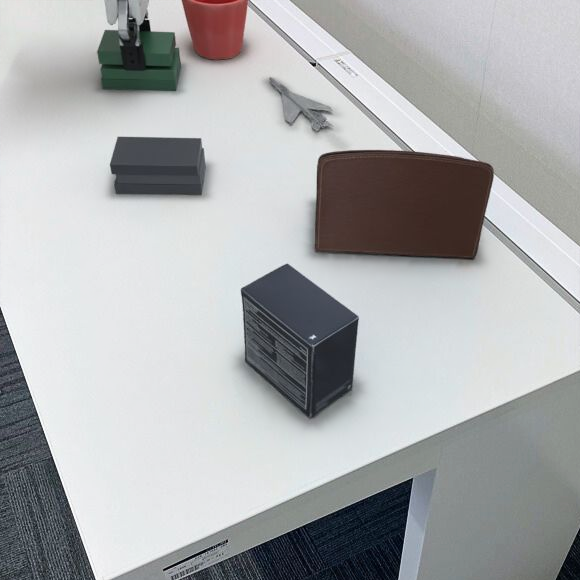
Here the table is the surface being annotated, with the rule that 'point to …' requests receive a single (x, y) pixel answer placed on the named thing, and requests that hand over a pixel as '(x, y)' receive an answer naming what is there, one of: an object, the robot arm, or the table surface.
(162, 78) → the green book stack
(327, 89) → the table surface
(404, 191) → the letter holder
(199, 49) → the flower pot
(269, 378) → the small box
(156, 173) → the grey book stack
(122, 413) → the table surface
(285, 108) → the toy airplane
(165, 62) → the green book
